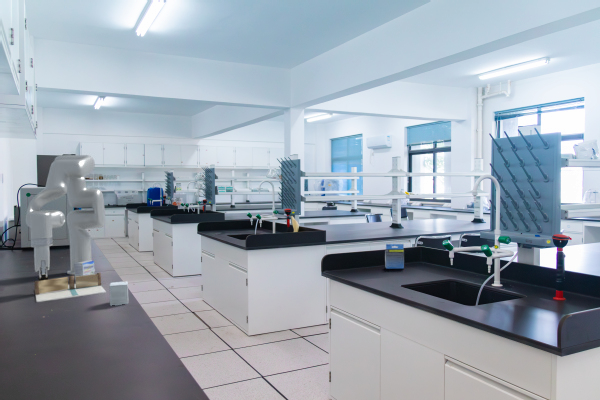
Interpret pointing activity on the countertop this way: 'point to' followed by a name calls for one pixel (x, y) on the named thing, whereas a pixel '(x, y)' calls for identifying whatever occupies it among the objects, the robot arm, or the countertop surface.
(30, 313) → the countertop surface
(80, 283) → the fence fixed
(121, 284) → the product box
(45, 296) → the card
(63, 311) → the countertop surface
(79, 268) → the medicine box
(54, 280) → the fence panel
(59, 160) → the robot arm
